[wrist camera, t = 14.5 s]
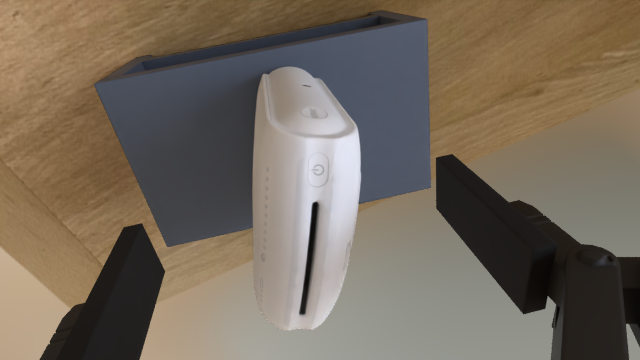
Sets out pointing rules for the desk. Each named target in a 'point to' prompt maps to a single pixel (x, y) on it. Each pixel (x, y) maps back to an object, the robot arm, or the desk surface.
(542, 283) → the robot arm
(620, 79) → the desk surface
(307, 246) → the photo printer
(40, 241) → the desk surface
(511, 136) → the desk surface
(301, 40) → the shelf
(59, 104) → the desk surface
